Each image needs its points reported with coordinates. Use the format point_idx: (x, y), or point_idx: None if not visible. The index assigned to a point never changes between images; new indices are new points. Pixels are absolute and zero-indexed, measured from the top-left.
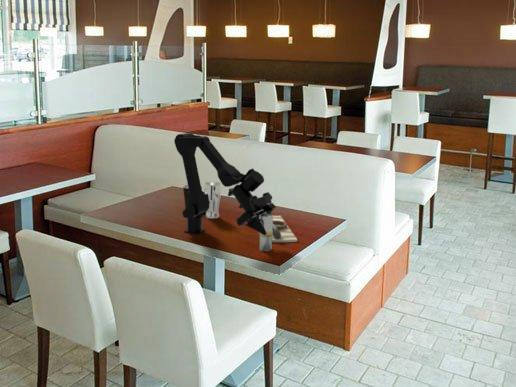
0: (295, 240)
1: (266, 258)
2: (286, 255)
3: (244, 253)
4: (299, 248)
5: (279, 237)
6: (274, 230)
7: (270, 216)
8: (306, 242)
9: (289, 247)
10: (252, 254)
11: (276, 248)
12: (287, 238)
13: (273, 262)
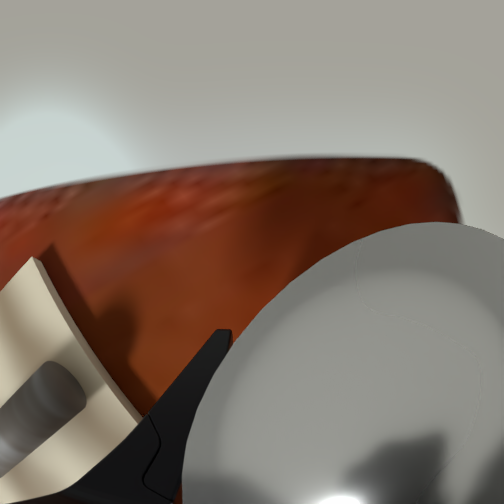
0: (39, 267)
1: None
2: (304, 189)
3: None
4: (135, 190)
5: (65, 369)
6: (32, 425)
7: (473, 282)
8: (31, 214)
9: (150, 249)
10: None
11: (223, 314)
12: (41, 320)
13: (441, 199)
